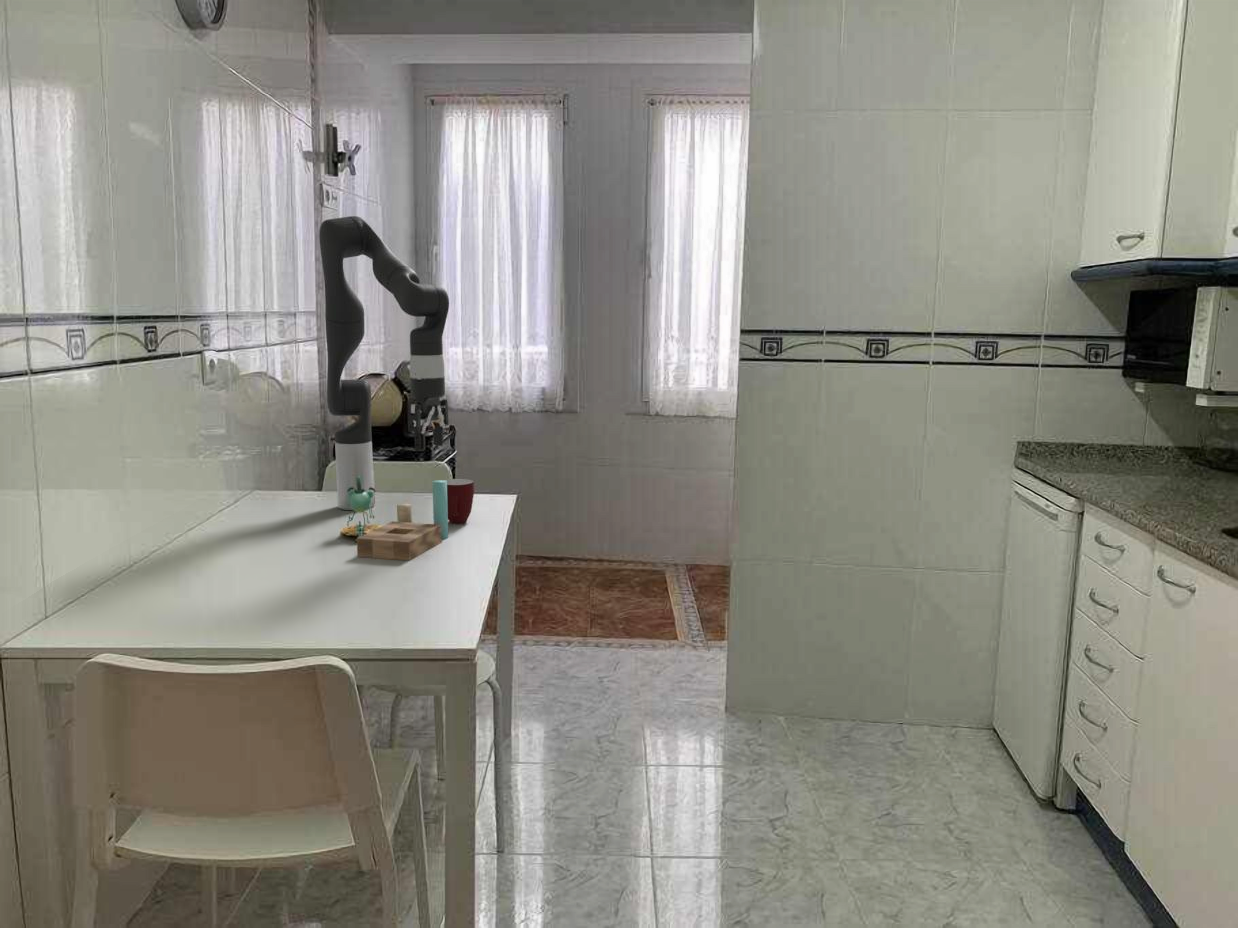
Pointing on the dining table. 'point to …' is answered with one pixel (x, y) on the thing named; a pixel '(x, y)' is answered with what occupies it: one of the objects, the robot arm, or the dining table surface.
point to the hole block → (399, 540)
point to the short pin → (404, 513)
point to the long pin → (440, 506)
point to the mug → (459, 499)
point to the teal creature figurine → (360, 510)
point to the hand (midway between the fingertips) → (429, 447)
